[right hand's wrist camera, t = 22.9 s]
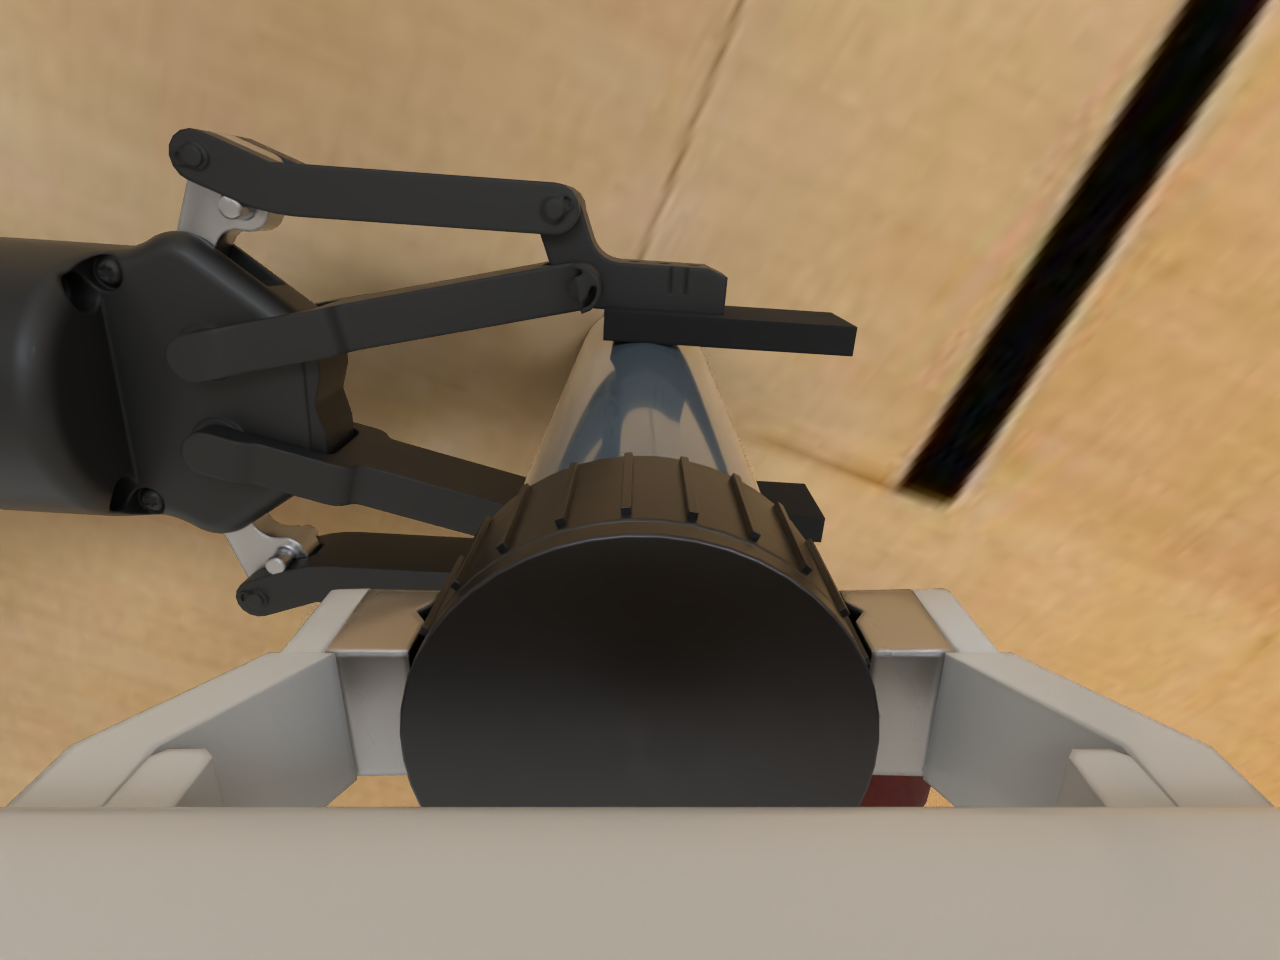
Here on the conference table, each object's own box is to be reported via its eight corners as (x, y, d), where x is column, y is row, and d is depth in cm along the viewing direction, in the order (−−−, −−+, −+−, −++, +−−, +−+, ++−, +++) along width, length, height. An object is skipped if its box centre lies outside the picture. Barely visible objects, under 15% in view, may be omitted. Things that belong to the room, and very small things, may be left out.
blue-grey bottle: (598, 437, 28) (518, 878, 10) (563, 321, 27) (388, 585, 8) (714, 407, 28) (859, 810, 9) (686, 288, 26) (792, 487, 8)
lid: (444, 433, 9) (379, 508, 7) (864, 466, 9) (936, 548, 7) (451, 769, 11) (402, 913, 9) (800, 791, 11) (838, 939, 9)
